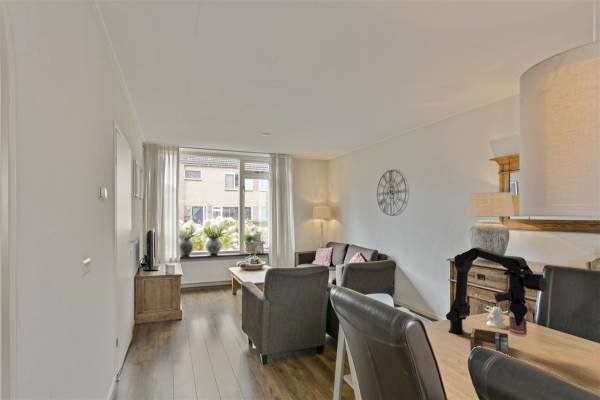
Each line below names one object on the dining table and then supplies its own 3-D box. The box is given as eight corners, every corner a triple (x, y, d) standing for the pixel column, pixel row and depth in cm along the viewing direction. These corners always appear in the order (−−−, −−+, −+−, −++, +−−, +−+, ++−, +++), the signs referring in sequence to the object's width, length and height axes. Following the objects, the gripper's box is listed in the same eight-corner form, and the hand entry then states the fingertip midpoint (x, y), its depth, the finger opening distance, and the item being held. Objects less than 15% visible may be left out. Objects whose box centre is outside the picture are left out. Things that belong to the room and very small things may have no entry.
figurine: (512, 326, 174) (511, 306, 174) (504, 330, 168) (503, 309, 169) (488, 320, 183) (488, 301, 184) (480, 324, 178) (479, 304, 179)
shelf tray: (472, 340, 155) (472, 327, 155) (508, 346, 147) (507, 332, 148) (470, 350, 144) (470, 335, 144) (508, 357, 136) (508, 342, 137)
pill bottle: (529, 337, 136) (529, 310, 137) (513, 336, 138) (512, 309, 138) (523, 332, 142) (522, 306, 143) (507, 331, 144) (506, 305, 144)
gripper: (495, 280, 153) (496, 314, 152) (494, 288, 137) (495, 326, 136) (524, 283, 147) (525, 318, 146) (527, 292, 131) (528, 331, 131)
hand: (517, 323), depth 140 cm, fingers closed on pill bottle, 6 cm apart
